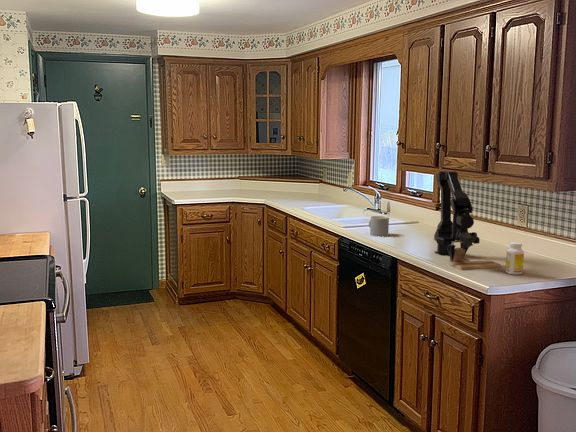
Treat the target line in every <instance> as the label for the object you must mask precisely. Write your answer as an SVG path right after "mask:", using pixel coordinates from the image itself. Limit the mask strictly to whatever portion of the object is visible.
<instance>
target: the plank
mask: <svg viewBox="0 0 576 432" xmlns="http://www.w3.org/2000/svg"><path fill="white" fill-rule="evenodd" d="M450 266H451V267H453V268H456V269H459V270H461V271H462V270H463V271H464V270H474V269H476V270H477V269H488V268H499V267H501V263H499V262H495V261H492V260H490V259H486V260H484V259H483V260H470V262H468V263H466V262H456V263H453V262H450Z"/></svg>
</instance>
